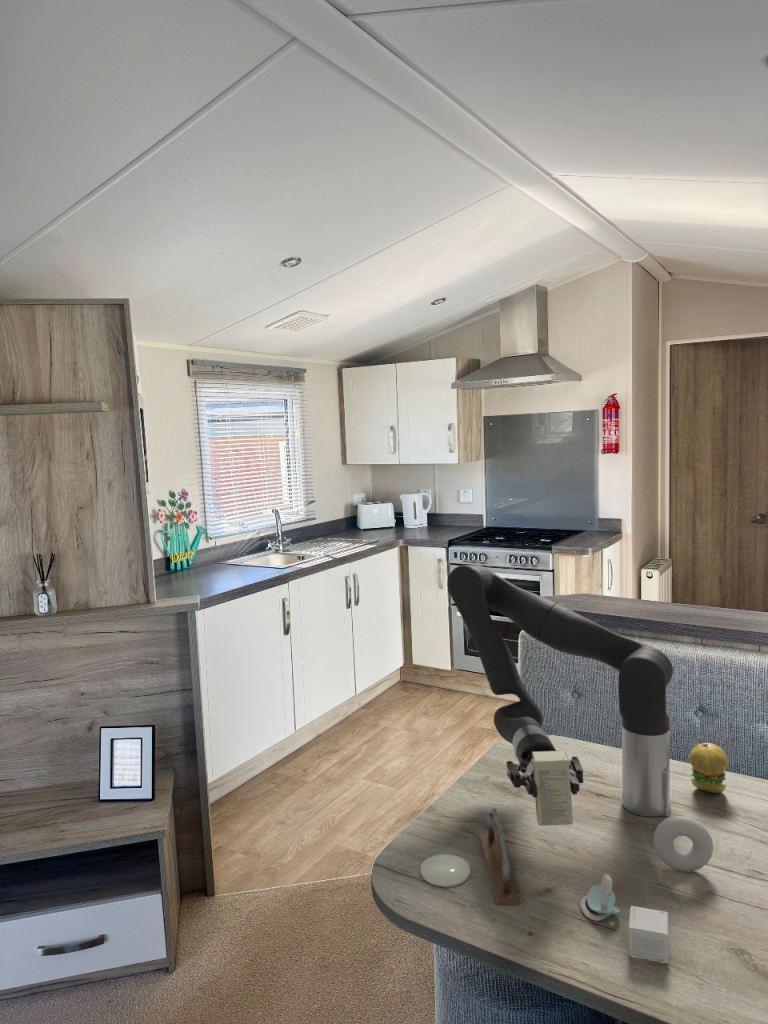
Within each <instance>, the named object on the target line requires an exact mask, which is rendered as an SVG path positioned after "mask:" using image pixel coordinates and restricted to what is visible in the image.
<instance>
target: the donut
mask: <svg viewBox="0 0 768 1024" xmlns="http://www.w3.org/2000/svg"><path fill="white" fill-rule="evenodd" d="M653 835H654V836H653V846H654V850H655V852H656V854H657V856H658V858H659V859H660V860H661V861H662V862H663V863H664V864H665V865H666V866H668V867H669V868H672V870H676V871H680V872H684V873H685V872H687V873H688V872H696V871H699V870H701V869H702V868H703V867H704V866H706V865H707V864H708V863H709V861H710V860H711V858H712V857H713V852H714V843H713V842H714V841H713V838H712V836H711V834H710V833H709V831H708V828H706V827H705V826H704V824H702V823H701V822H700V821H698V820H696V819H694V818H692V817H688V816H684V815H676V816H675V815H674V816H671V817H668V818H666V819H664V820H662V822H660V823H659V824H658V825H657V827H656V829H655V831H654V834H653ZM678 837H679V838H680V837H687V838H688V839H690V841H692V847H691V848H690V849H689V850H683V851H682V850H679V849H677V848H676V847H675V845H674V842H675V840H676V839H677V838H678Z"/></svg>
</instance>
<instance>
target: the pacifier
mask: <svg viewBox="0 0 768 1024" xmlns="http://www.w3.org/2000/svg"><path fill="white" fill-rule="evenodd" d="M579 904H580V909H581V912H582V913H583V915H584V916H585V917H587V918H588V919H589V920H592V921H596V922H597V921H603V920H604V919H606V918H609V917H610V916H611V915H616V914H619V913H620V908H618V907H617V906H615V904H616V895H615V893H614V890H613V879H612V878H611V876H610V875H609V874H607V873H604V874H603V875H602V878H601V882H600V883H599V884H598V883H597V884H596V885H594V886H592V887H590V889H589V890H588V892H587V895H584V896H583V897H582V899H581V900H580V903H579ZM586 904H587V905H586ZM587 906H588V907H589V909H590V910H591V911H594V912H596V914H593V913H592V912H590V911H589V910H588V908H587Z"/></svg>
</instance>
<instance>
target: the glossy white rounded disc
mask: <svg viewBox="0 0 768 1024" xmlns="http://www.w3.org/2000/svg"><path fill="white" fill-rule="evenodd" d="M420 875H421V877H422V879H423V880H424V881H425V882H427V883H428V884H431V885H432V886H437V887H443V888H452V887H456V886H459V885H461V884H463V883H465V882H466V881H467V880H468V879H469V878H470V876H471V866H470V865H469V863H468V862H467V861H466V860H465V859H463V858H462V857H460V856H458V855H457V856H456V855H453V854H438V855H433V856H430V857H428V858H426V859H425V860H424V861H423V862H422V864H421V865H420Z"/></svg>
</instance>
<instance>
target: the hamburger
mask: <svg viewBox="0 0 768 1024" xmlns="http://www.w3.org/2000/svg"><path fill="white" fill-rule="evenodd" d="M689 761H690V765H691V772H692V773H691V776H692V778H691V784H692V785H693V786H694V788H696V789H697V790H701V791H703V792H707V793H712V794H713V793H714V794H715V793H716V794H720V793H722V792H725V790H726V787H727V785H726V784H724V783H723V782H724V781H726V769H727V768H728V765H729V758H728V755H727V753H726V751H725V750H724V749H723V748H722V747H721V746H719V745H717V744H715V743H712V742H711V743H710V742H702V743H698V744H696V745H695V746H694V747H692V749H691V750H690V753H689Z"/></svg>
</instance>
